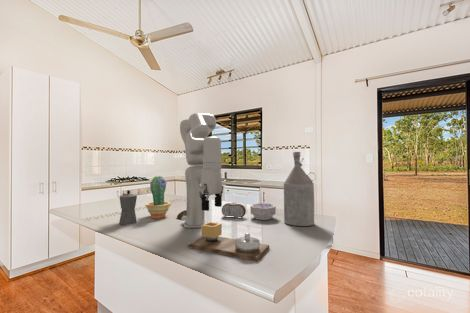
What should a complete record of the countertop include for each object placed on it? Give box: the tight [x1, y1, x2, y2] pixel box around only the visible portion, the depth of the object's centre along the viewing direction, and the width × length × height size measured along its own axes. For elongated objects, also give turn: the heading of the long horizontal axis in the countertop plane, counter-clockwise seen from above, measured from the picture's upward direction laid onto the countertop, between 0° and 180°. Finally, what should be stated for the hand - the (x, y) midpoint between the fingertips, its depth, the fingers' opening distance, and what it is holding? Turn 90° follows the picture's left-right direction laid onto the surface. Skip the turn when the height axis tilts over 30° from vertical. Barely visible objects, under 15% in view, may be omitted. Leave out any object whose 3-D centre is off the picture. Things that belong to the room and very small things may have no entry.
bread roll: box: [176, 209, 187, 221], centre depth 141 cm, size 13×12×5 cm
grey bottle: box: [283, 151, 317, 227], centre depth 128 cm, size 13×17×40 cm
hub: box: [235, 232, 260, 254], centre depth 86 cm, size 9×9×6 cm
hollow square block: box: [200, 221, 223, 238], centre depth 95 cm, size 6×6×4 cm
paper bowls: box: [249, 202, 277, 221], centre depth 139 cm, size 15×15×8 cm
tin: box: [221, 202, 247, 218], centre depth 141 cm, size 15×3×8 cm, turn 74°
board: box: [188, 235, 270, 263], centre depth 91 cm, size 29×13×2 cm, turn 63°
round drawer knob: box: [206, 237, 218, 242], centre depth 95 cm, size 5×5×4 cm
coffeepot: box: [118, 189, 138, 226], centre depth 129 cm, size 15×9×18 cm, turn 44°
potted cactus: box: [144, 175, 172, 219], centre depth 144 cm, size 15×15×25 cm
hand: (212, 208), depth 95 cm, fingers open, 9 cm apart
